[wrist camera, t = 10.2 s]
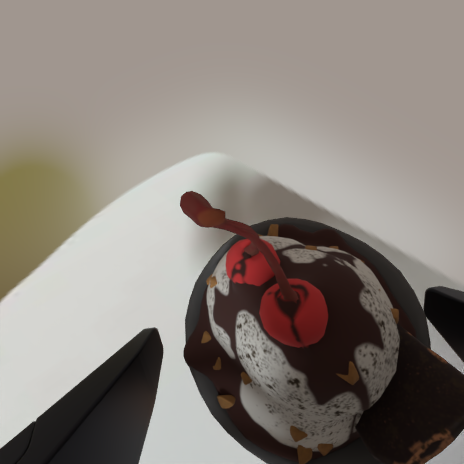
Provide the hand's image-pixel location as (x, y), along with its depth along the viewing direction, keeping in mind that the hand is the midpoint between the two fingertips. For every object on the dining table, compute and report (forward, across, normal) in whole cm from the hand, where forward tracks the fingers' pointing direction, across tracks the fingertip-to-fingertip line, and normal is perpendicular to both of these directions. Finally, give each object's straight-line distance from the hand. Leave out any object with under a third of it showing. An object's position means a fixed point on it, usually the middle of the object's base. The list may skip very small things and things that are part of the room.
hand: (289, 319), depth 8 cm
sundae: (+6, 0, +6) cm, 9 cm away
